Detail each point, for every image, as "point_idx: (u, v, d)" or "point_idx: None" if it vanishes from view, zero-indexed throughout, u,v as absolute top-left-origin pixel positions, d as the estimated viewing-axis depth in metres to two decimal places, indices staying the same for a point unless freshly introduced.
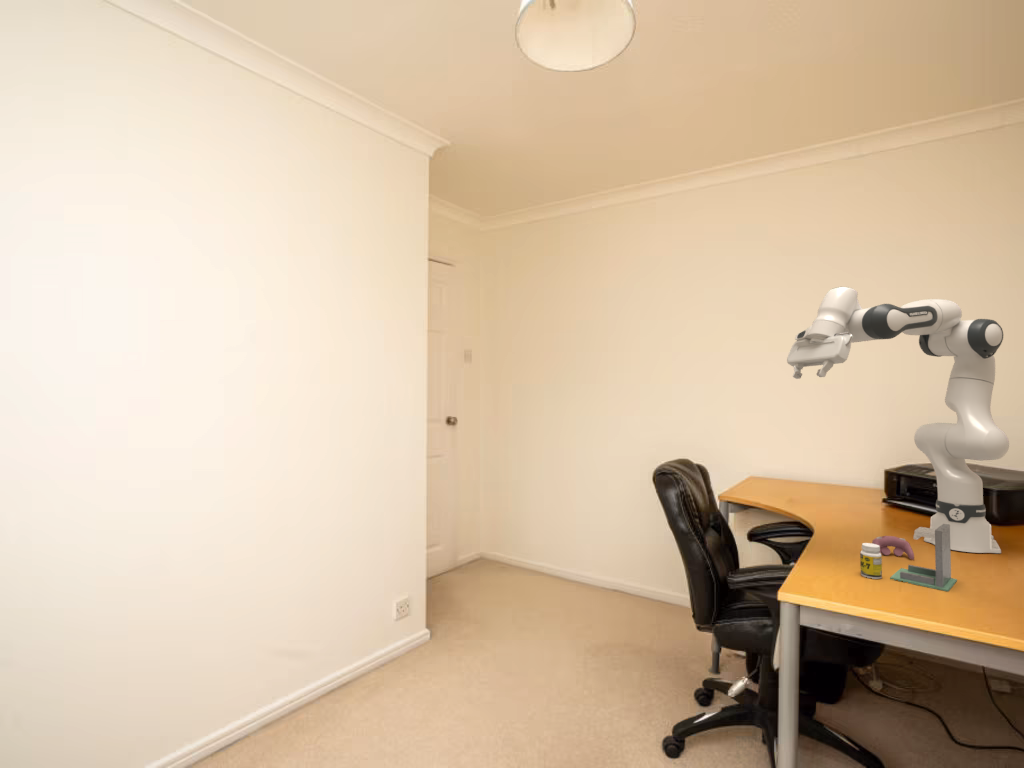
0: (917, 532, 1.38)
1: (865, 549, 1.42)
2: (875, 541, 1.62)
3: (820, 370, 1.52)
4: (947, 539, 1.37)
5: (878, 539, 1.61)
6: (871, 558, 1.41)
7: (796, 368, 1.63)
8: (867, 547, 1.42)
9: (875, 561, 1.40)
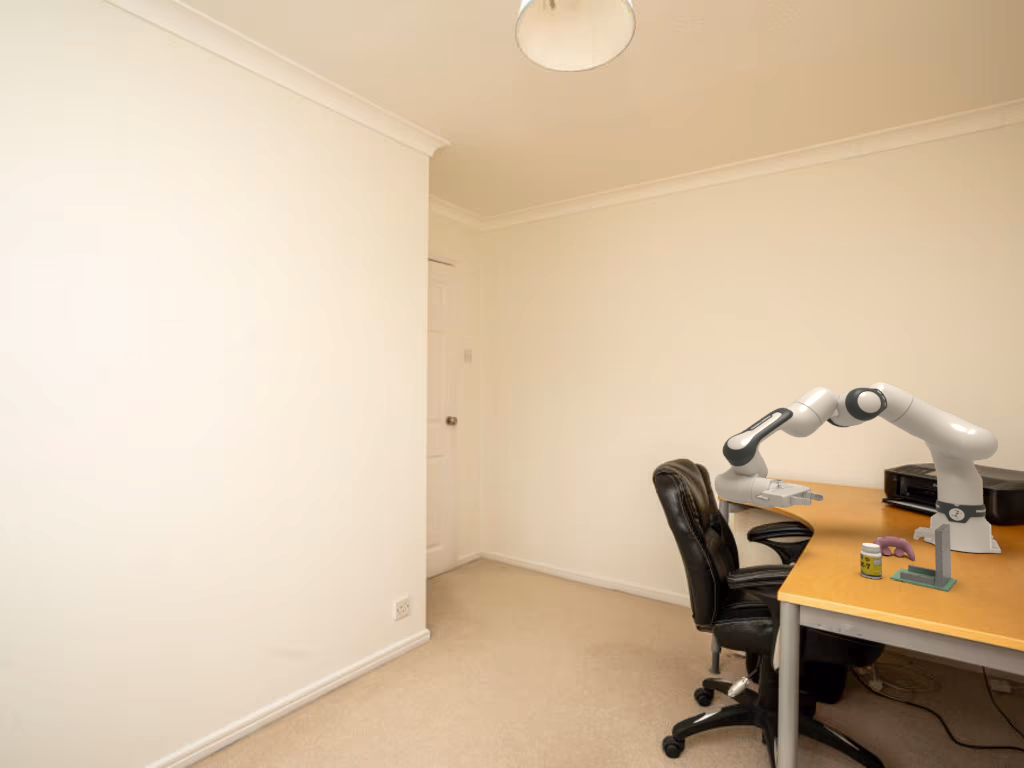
0: (917, 532, 1.38)
1: (865, 549, 1.42)
2: (876, 541, 1.61)
3: (804, 504, 1.50)
4: (947, 539, 1.37)
5: (879, 539, 1.61)
6: (871, 558, 1.41)
7: (812, 498, 1.59)
8: (867, 547, 1.42)
9: (875, 561, 1.40)
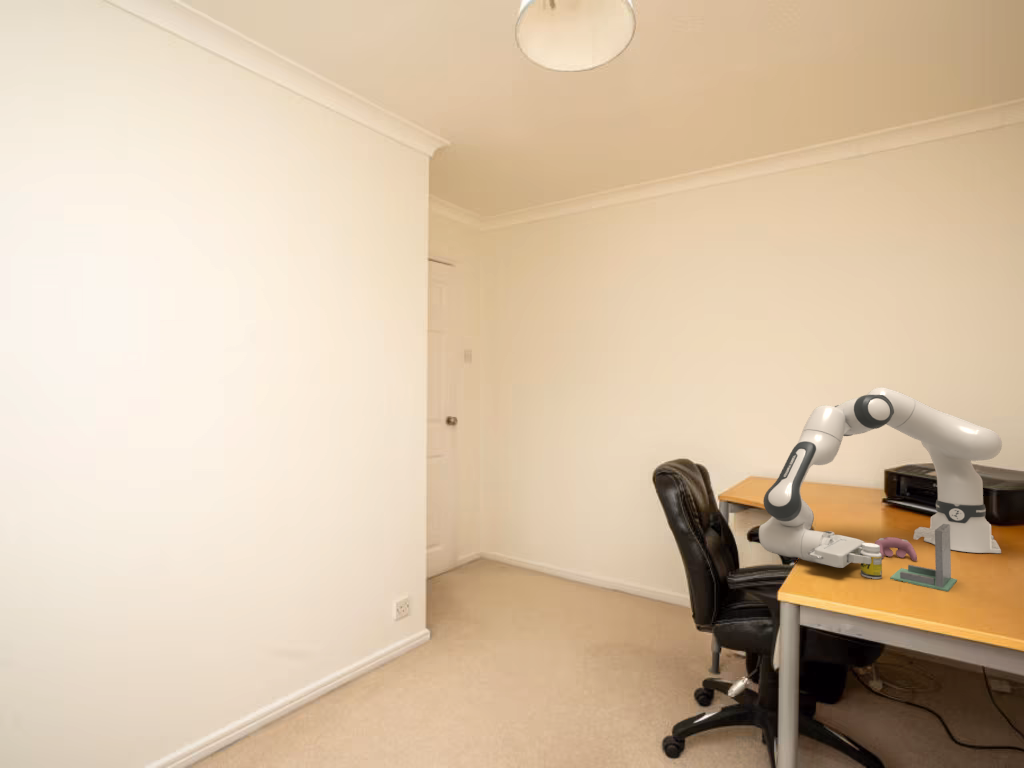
0: (917, 532, 1.38)
1: (865, 549, 1.42)
2: (878, 542, 1.60)
3: None
4: (947, 539, 1.37)
5: (881, 540, 1.60)
6: None
7: None
8: (867, 547, 1.42)
9: (875, 561, 1.40)
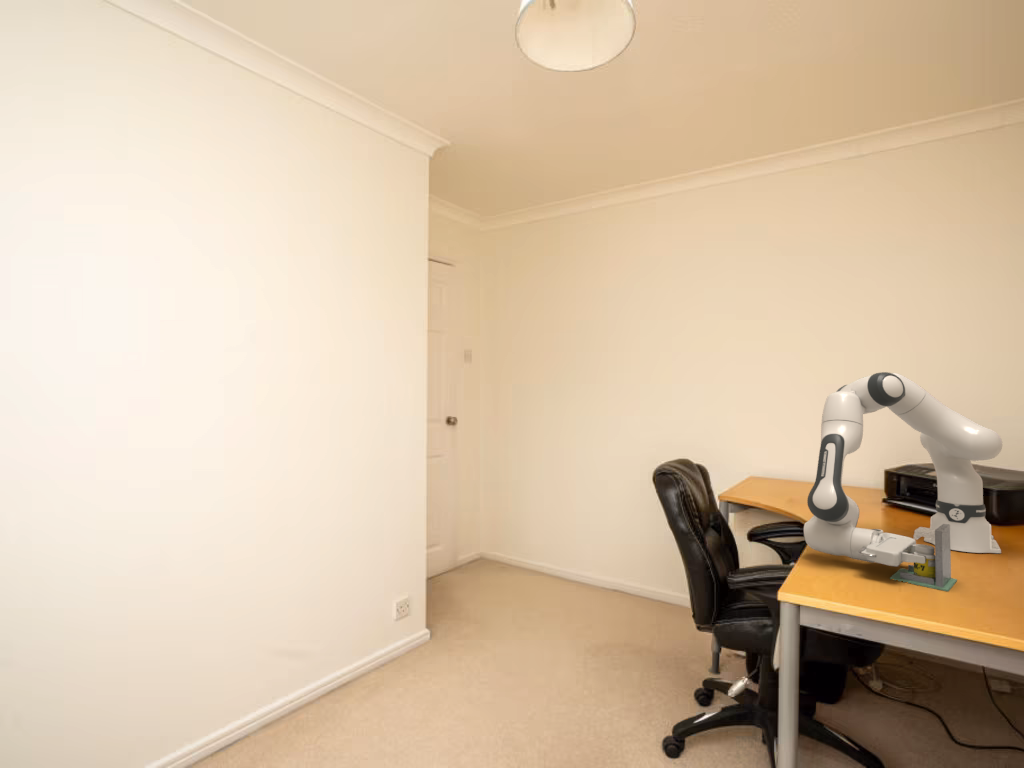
0: (917, 532, 1.38)
1: (919, 551, 1.39)
2: None
3: None
4: (947, 539, 1.37)
5: None
6: (926, 559, 1.37)
7: None
8: (921, 548, 1.38)
9: (930, 563, 1.37)
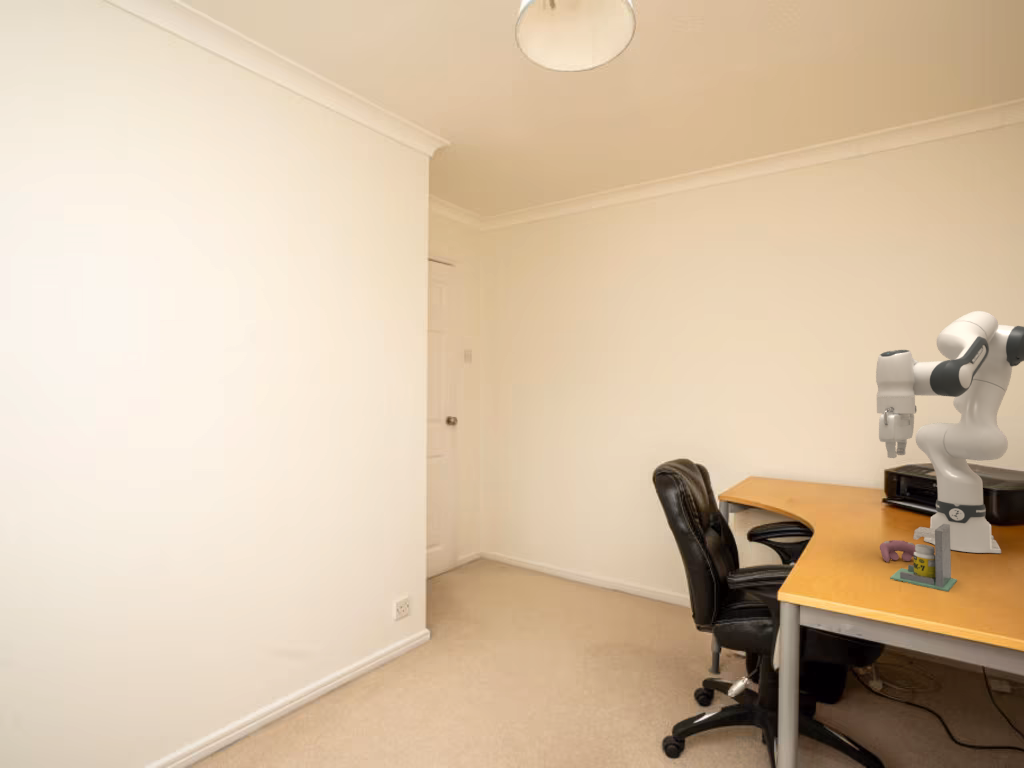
0: (917, 532, 1.38)
1: (919, 550, 1.39)
2: (883, 546, 1.57)
3: None
4: (947, 539, 1.37)
5: (886, 544, 1.57)
6: (926, 559, 1.37)
7: (898, 444, 1.54)
8: (921, 548, 1.38)
9: (930, 563, 1.37)
